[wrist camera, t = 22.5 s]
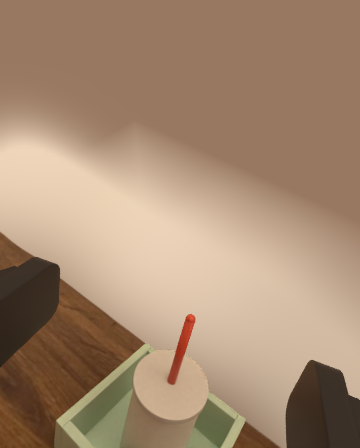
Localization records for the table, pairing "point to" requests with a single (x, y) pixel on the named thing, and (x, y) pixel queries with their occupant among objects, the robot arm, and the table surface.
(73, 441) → the bin
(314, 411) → the robot arm
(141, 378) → the straw cup
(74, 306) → the table surface
